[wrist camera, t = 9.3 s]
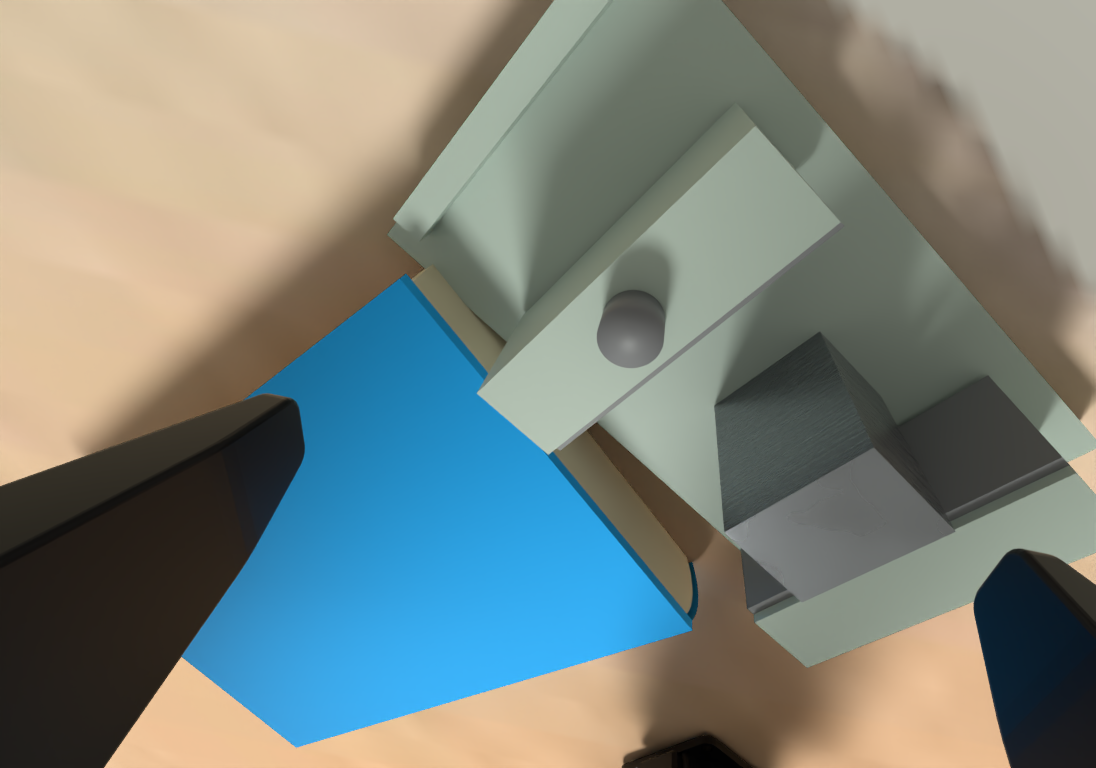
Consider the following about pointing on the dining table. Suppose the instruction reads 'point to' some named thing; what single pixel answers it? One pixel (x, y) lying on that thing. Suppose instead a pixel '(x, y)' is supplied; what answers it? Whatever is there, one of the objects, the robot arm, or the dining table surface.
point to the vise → (755, 298)
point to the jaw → (658, 282)
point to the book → (430, 537)
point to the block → (820, 474)
